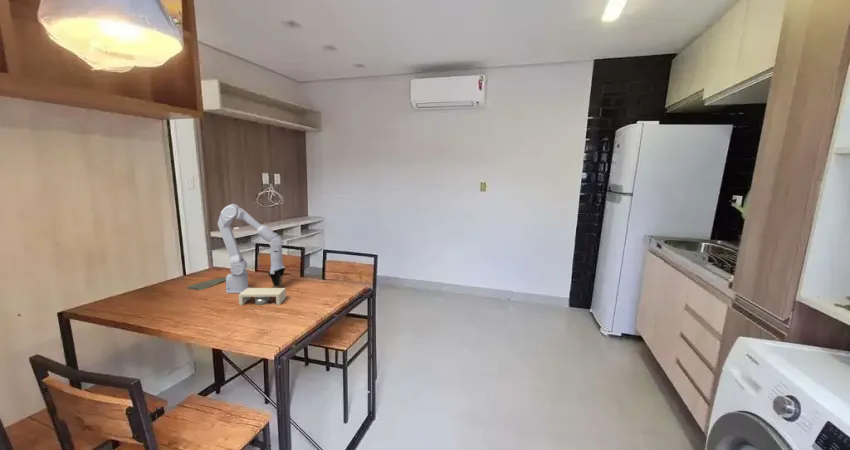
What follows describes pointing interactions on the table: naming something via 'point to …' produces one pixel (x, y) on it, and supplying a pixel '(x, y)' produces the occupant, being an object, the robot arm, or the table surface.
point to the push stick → (278, 283)
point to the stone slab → (206, 284)
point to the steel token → (261, 300)
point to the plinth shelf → (263, 294)
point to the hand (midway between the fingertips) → (277, 283)
